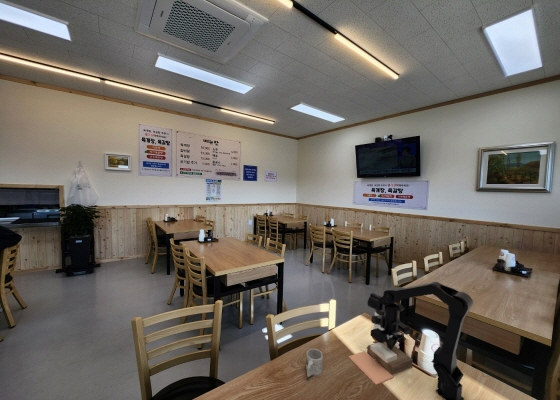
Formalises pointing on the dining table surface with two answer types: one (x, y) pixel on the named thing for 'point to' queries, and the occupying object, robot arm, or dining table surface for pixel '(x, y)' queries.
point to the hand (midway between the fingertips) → (389, 349)
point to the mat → (371, 368)
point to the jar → (377, 315)
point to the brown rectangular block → (394, 366)
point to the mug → (314, 362)
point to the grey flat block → (383, 352)
